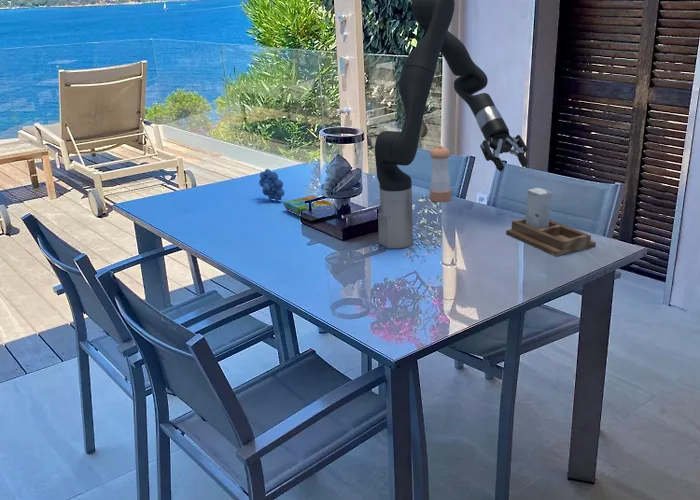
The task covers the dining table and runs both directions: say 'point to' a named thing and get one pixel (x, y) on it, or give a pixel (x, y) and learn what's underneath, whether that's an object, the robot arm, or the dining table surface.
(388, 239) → the robot arm
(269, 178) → the grapes
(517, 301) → the dining table surface
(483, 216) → the dining table surface
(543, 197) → the skincare box
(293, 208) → the puzzle game
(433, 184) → the salt shaker
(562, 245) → the rack
